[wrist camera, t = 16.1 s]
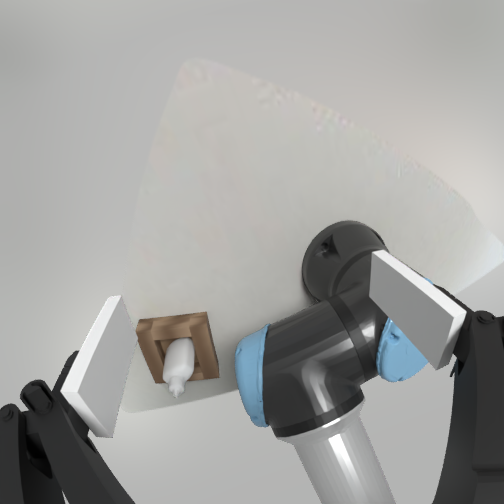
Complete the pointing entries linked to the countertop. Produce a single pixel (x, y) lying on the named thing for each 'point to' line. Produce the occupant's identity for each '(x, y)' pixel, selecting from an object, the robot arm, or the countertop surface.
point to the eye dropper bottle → (179, 364)
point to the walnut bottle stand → (170, 329)
